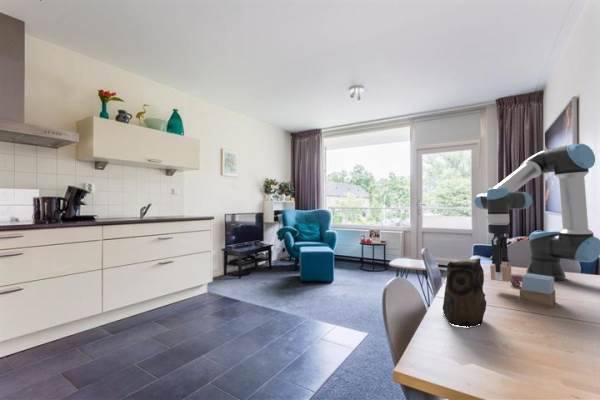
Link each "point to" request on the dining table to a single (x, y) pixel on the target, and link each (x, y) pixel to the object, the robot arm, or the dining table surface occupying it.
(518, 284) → the video game controller
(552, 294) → the walnut base
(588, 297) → the dining table surface
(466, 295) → the owl
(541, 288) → the slate block
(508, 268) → the terracotta cube
